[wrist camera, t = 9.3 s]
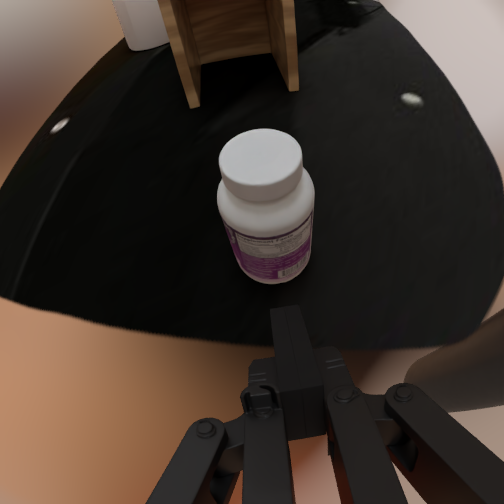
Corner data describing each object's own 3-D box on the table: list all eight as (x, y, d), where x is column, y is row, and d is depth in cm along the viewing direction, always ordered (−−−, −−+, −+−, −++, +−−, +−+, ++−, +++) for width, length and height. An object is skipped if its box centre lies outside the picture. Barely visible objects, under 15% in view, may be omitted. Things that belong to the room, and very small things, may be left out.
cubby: (299, 90, 33) (289, -45, 18) (190, 108, 33) (150, -22, 18) (277, 49, 40) (265, -50, 25) (193, 63, 40) (167, -34, 26)
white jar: (161, 28, 55) (140, -41, 38) (199, 28, 50) (179, -53, 33) (119, 52, 51) (91, -22, 33) (154, 53, 46) (125, -37, 29)
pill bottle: (240, 221, 24) (214, 121, 16) (310, 222, 23) (313, 118, 15) (232, 286, 22) (193, 196, 13) (310, 288, 21) (319, 196, 12)
